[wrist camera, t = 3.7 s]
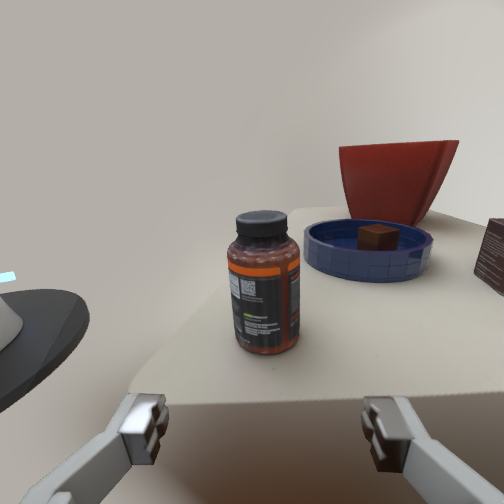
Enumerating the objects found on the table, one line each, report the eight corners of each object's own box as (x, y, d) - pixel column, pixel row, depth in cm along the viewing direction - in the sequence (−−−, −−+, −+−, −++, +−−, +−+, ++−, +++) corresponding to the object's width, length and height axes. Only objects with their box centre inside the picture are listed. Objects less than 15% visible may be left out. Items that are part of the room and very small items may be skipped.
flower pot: (427, 236, 47) (448, 138, 41) (331, 223, 59) (336, 145, 53) (443, 216, 60) (460, 139, 54) (361, 208, 72) (368, 145, 66)
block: (375, 259, 37) (379, 233, 35) (356, 251, 40) (358, 226, 39) (396, 254, 38) (400, 229, 37) (375, 247, 42) (378, 223, 40)
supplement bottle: (291, 313, 26) (292, 205, 22) (306, 355, 21) (311, 221, 17) (234, 318, 26) (225, 209, 22) (234, 361, 20) (221, 227, 16)
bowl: (355, 294, 29) (358, 263, 28) (284, 248, 45) (284, 227, 43) (457, 266, 35) (465, 239, 33) (363, 234, 50) (365, 214, 49)
